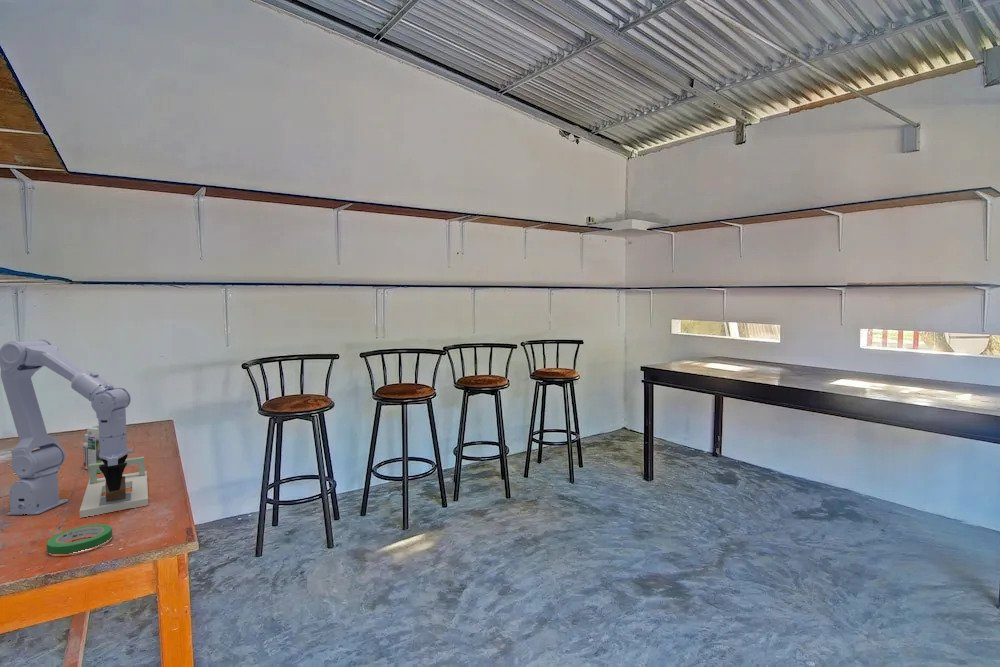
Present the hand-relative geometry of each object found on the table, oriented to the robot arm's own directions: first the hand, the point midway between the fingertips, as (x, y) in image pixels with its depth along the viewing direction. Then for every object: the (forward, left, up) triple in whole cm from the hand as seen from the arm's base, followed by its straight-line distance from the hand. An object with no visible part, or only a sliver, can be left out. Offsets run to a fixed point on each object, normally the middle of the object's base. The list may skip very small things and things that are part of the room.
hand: (115, 486), depth 134 cm
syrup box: (+33, +29, -6) cm, 44 cm away
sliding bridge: (+17, +12, -3) cm, 21 cm away
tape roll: (-22, -9, -6) cm, 25 cm away
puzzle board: (+9, +6, -5) cm, 12 cm away
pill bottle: (+37, +34, -6) cm, 50 cm away
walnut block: (0, 0, -3) cm, 3 cm away
